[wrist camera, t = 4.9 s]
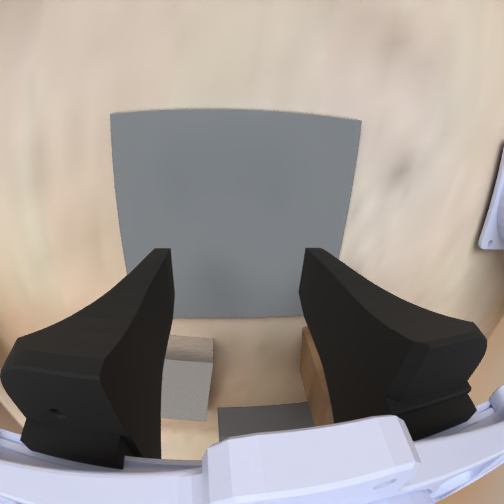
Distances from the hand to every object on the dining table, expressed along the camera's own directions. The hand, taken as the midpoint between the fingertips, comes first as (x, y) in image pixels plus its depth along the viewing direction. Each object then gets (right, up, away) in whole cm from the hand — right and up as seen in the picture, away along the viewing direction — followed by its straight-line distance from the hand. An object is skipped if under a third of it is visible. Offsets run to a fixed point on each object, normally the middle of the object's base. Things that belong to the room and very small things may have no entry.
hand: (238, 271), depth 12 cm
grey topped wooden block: (-5, -7, +9) cm, 13 cm away
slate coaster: (0, +2, +4) cm, 4 cm away
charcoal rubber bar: (+2, -13, +13) cm, 18 cm away
